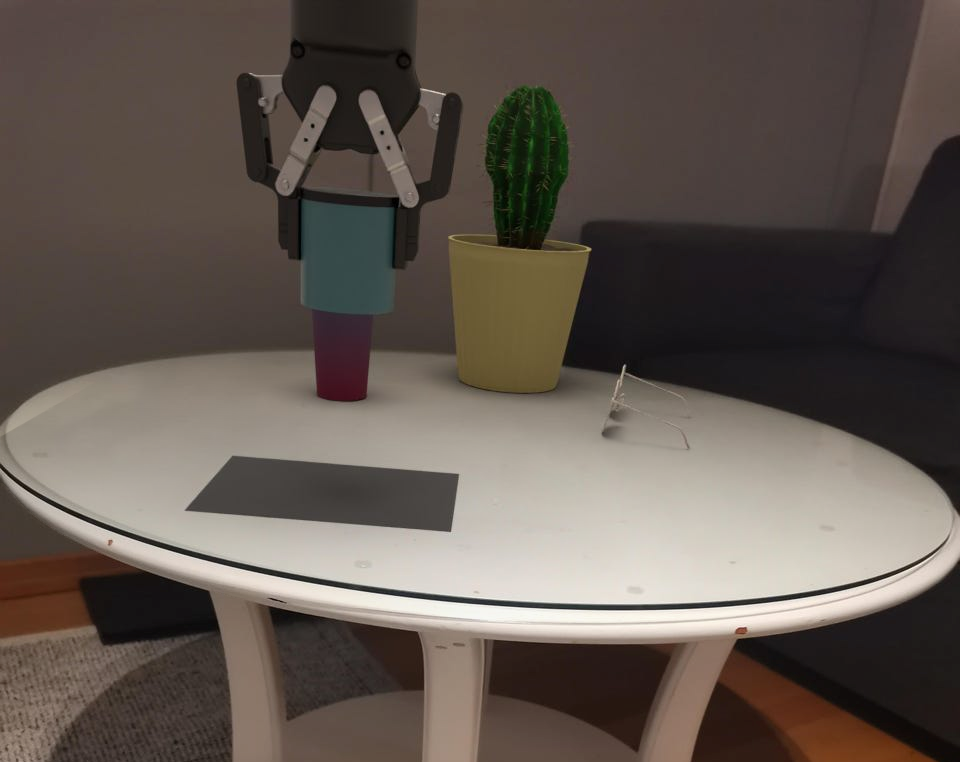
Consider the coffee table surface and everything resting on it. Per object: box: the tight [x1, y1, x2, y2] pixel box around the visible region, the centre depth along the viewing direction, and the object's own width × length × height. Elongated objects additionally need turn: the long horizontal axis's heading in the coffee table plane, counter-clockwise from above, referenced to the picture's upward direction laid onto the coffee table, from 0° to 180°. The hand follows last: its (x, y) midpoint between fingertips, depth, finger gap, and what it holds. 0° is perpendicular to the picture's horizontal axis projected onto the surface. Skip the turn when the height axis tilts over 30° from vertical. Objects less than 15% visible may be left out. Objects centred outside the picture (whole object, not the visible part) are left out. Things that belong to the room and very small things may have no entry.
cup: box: [311, 308, 374, 402], centre depth 96 cm, size 7×7×15 cm
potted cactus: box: [447, 79, 592, 394], centre depth 104 cm, size 15×15×30 cm
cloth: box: [184, 455, 460, 533], centre depth 71 cm, size 18×13×1 cm
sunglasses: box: [601, 364, 693, 450], centre depth 96 cm, size 14×8×5 cm, turn 168°
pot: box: [300, 186, 400, 315], centre depth 66 cm, size 6×12×7 cm, turn 179°
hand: (348, 262), depth 64 cm, fingers closed on pot, 6 cm apart
